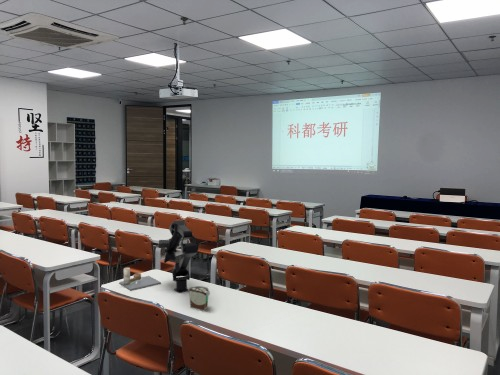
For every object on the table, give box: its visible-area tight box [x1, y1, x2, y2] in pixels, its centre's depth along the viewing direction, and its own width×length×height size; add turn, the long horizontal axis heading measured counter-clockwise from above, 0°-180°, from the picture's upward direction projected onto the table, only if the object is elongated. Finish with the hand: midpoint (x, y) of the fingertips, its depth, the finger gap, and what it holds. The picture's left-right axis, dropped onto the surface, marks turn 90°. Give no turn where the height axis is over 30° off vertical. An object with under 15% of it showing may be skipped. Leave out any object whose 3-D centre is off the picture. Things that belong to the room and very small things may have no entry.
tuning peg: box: [123, 267, 142, 284], centre depth 231 cm, size 13×4×9 cm, turn 156°
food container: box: [187, 285, 211, 312], centre depth 196 cm, size 12×6×10 cm, turn 58°
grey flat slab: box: [118, 275, 162, 292], centre depth 231 cm, size 16×19×1 cm
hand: (164, 262), depth 229 cm, fingers closed
